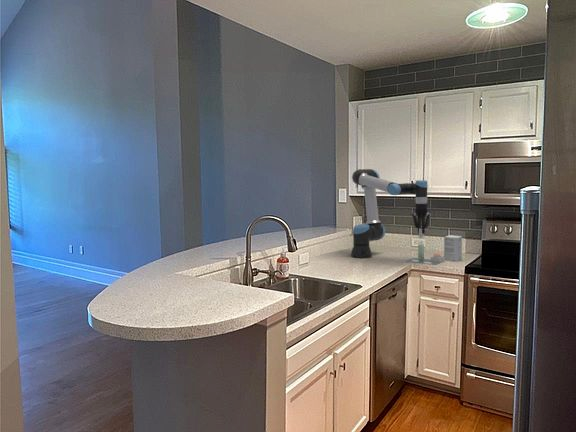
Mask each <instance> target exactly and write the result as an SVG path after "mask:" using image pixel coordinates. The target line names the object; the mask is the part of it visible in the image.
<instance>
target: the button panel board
mask: <svg viewBox="0 0 576 432" xmlns="http://www.w3.org/2000/svg"><path fill="white" fill-rule="evenodd" d="M405 262H407V263H414V264H424V265H432V266H437V265H439V264H440V265H441V264H442V263H445V262H446V260H444V255H440V257H434V255H431V256H430V258H424V260H423V262H419V260H418V257H413V258H409V259H408V260H407V259H406V260H404V263H405Z"/></svg>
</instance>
